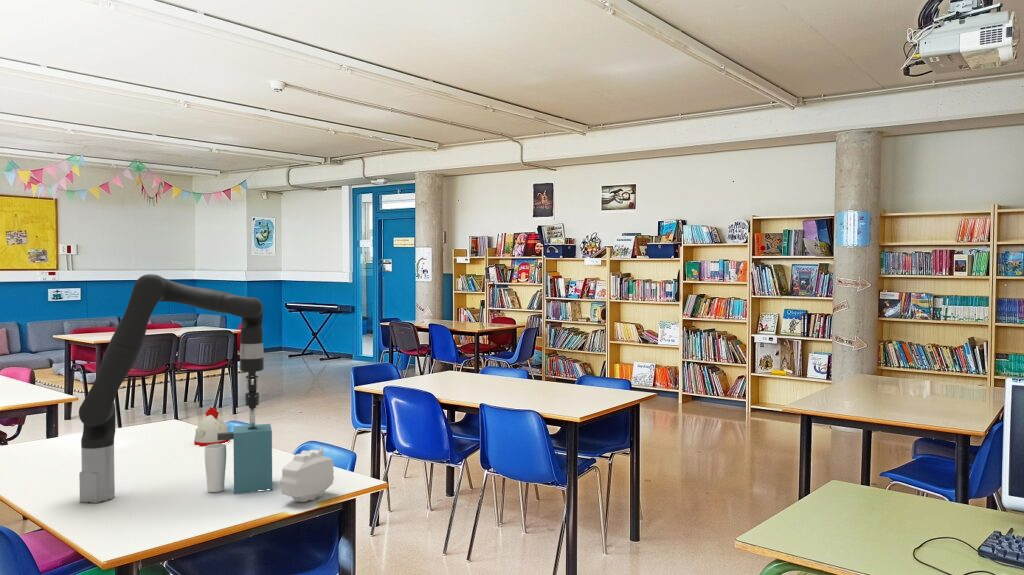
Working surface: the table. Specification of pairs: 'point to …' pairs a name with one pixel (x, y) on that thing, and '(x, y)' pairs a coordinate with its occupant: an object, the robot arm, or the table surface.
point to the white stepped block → (307, 475)
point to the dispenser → (251, 457)
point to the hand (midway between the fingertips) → (252, 406)
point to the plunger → (251, 411)
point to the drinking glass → (215, 466)
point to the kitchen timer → (210, 429)
